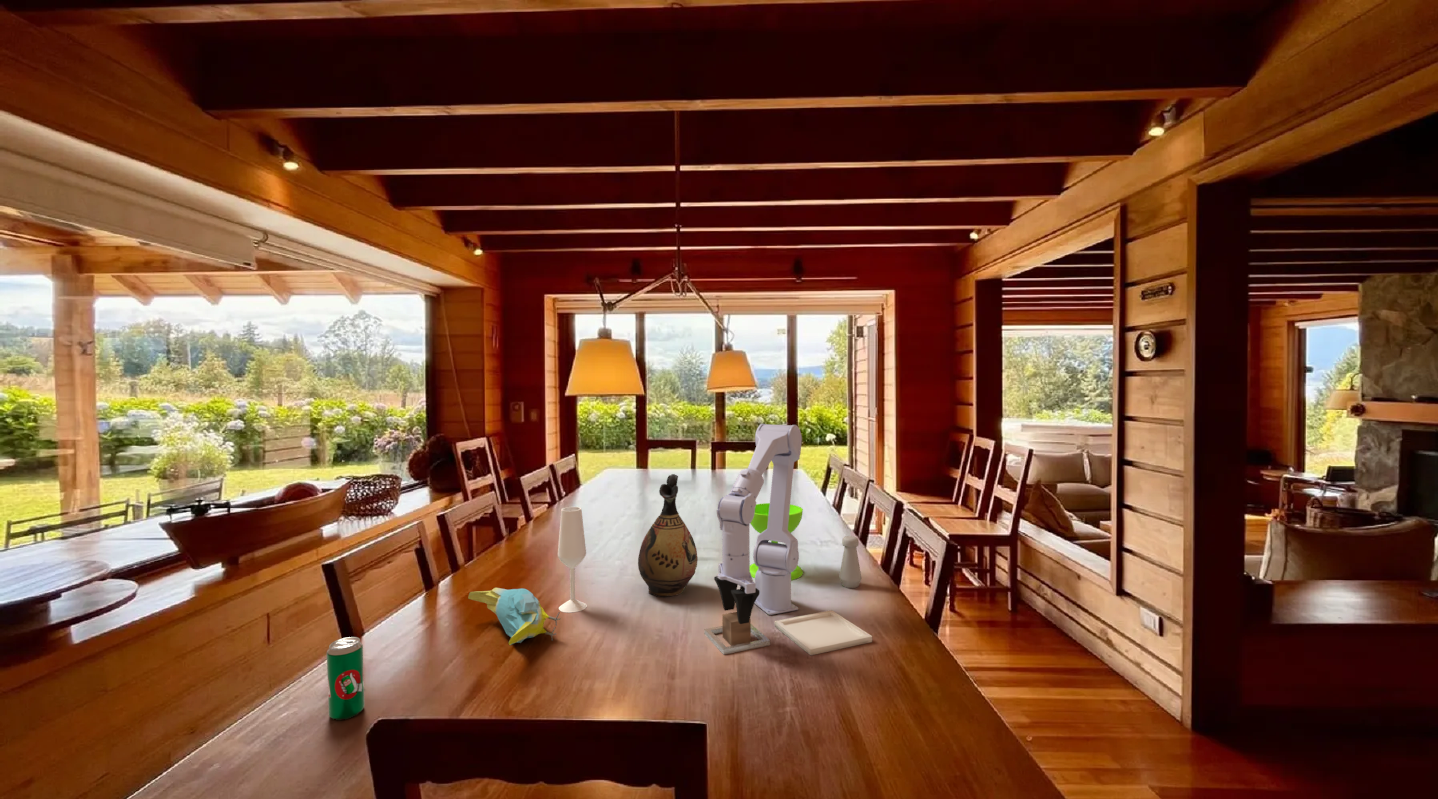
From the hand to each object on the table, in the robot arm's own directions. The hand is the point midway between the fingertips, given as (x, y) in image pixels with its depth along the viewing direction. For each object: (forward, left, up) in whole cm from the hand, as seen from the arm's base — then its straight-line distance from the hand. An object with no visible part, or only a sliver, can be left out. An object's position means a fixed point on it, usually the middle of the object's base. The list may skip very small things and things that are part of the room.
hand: (736, 615), depth 125 cm
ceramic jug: (-34, -4, -5) cm, 35 cm away
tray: (+5, +18, -5) cm, 19 cm away
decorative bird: (-21, -46, -5) cm, 51 cm away
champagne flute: (-32, -29, -5) cm, 44 cm away
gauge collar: (0, 0, -5) cm, 5 cm away
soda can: (-1, -71, -5) cm, 71 cm away
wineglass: (-35, +28, -5) cm, 45 cm away
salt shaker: (-17, +41, -5) cm, 45 cm away
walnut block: (0, 0, -5) cm, 5 cm away
